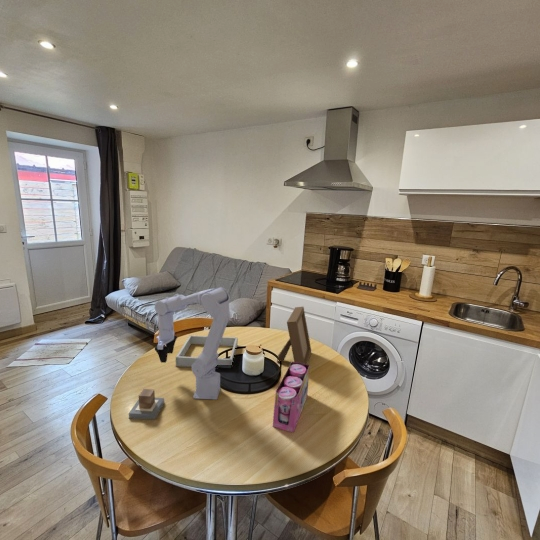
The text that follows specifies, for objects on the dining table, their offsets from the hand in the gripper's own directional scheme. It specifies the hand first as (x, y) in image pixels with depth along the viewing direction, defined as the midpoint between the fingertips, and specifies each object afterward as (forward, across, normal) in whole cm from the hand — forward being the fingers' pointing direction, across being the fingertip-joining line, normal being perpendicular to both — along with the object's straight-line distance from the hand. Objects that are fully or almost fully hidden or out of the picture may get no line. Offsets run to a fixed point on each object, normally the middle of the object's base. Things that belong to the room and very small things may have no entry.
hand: (166, 357), depth 123 cm
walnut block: (+8, +20, 0) cm, 21 cm away
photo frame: (+11, -22, +56) cm, 61 cm away
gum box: (+11, +15, +52) cm, 56 cm away
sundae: (+11, -8, +38) cm, 40 cm away
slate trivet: (+10, +20, 0) cm, 22 cm away
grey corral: (+10, -23, +13) cm, 28 cm away
